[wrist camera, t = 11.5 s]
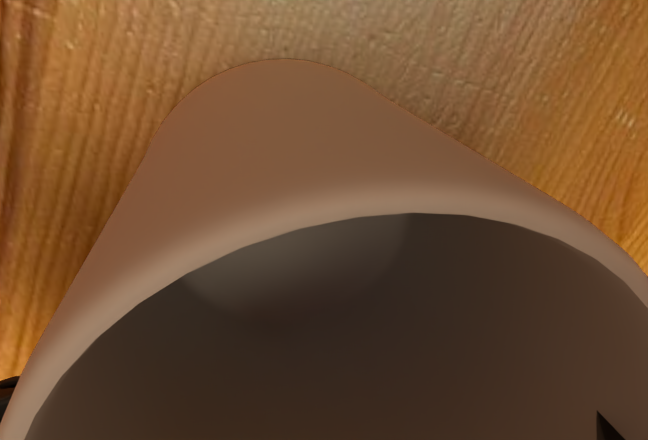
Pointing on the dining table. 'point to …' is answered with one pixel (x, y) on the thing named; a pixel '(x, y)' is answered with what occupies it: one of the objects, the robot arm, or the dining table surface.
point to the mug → (335, 287)
